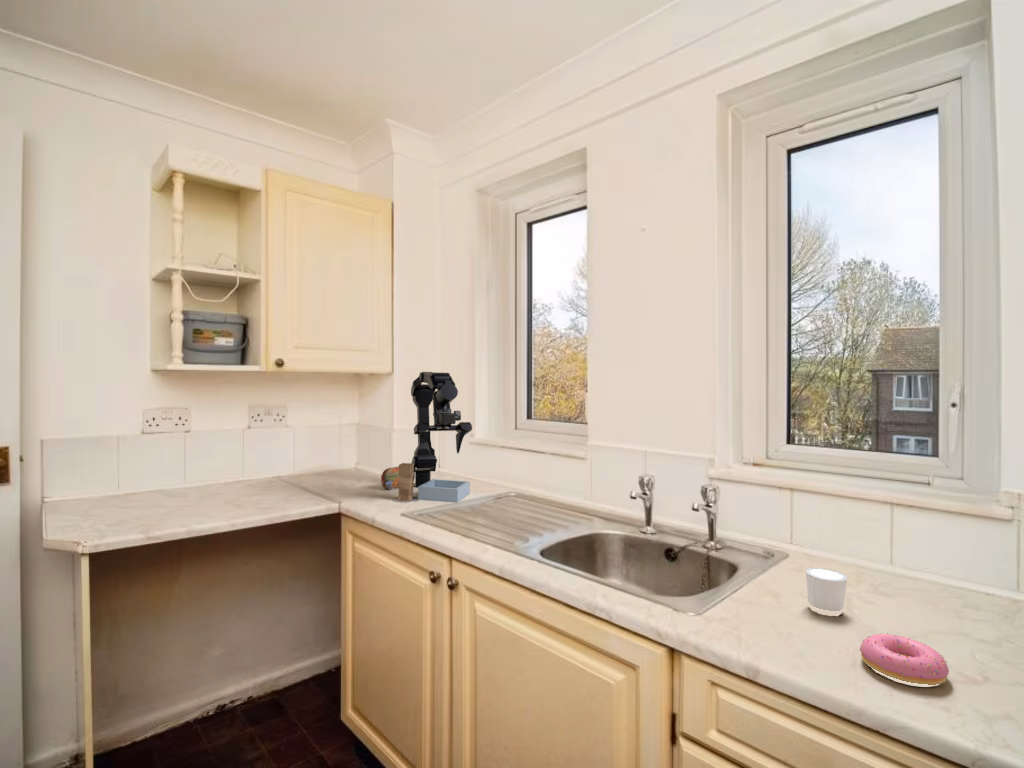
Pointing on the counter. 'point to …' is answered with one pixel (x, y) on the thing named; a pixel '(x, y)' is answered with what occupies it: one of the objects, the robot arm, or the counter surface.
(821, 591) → the white cylinder
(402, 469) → the strut
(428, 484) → the bin
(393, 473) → the tin
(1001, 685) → the counter surface
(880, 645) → the doughnut
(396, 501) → the base
